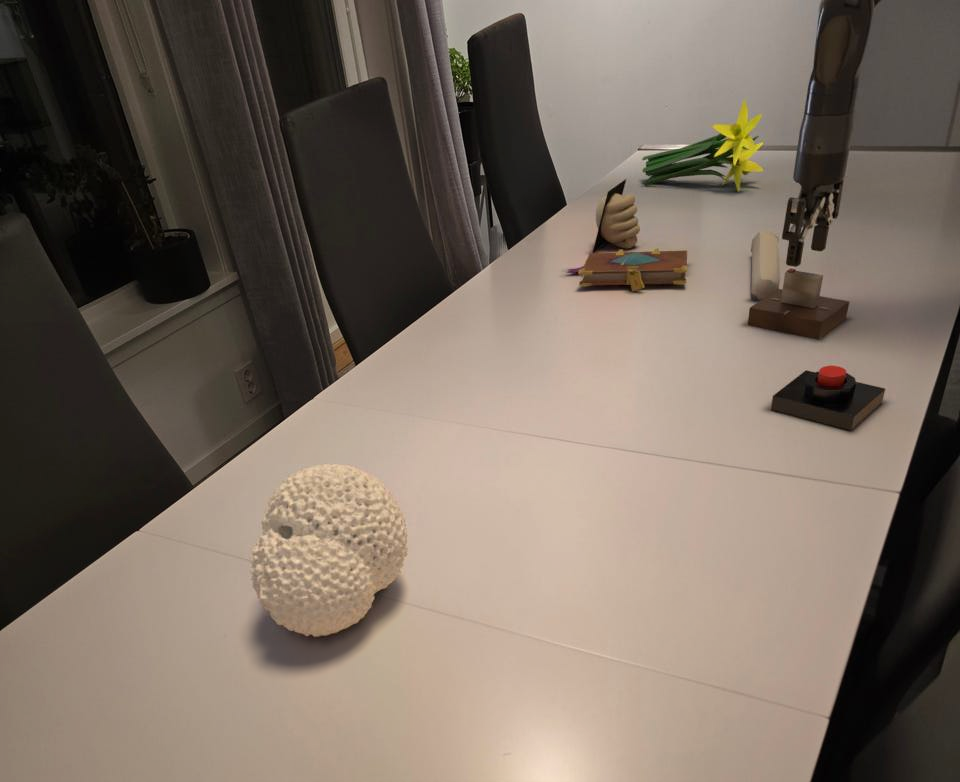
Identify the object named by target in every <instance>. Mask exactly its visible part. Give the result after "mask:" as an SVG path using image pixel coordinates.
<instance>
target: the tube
mask: <svg viewBox="0 0 960 782" xmlns="http://www.w3.org/2000/svg"><path fill="white" fill-rule="evenodd" d="M779 240H780V237H779V236H778V235H777V234H776V233H775V232H774V231H772V230H759V231H758V232H757V233H756V234H755V236H754V237H753V238H752V239H751V245H750V252H751V294H752V295H753V296H754V297H755V298H757V299H758V300H759V301H761V300H762V299H764V298H765V297H767V296H768V295H770V294H771V293H773V292H774V291H776V290H777V289H780V283H781V282H780V281H781V276H780V257H779Z"/></svg>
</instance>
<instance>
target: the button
mask: <svg viewBox="0 0 960 782" xmlns="http://www.w3.org/2000/svg"><path fill="white" fill-rule="evenodd" d="M818 371H819V374H818V380H817V383H818V384H820V385H823V386H827V387H838V386H842V385H844V382H845V377H846V373H847V369H845V368H844V367H842V366H838V365H825V366H822V367H821V368H819V370H818Z"/></svg>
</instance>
